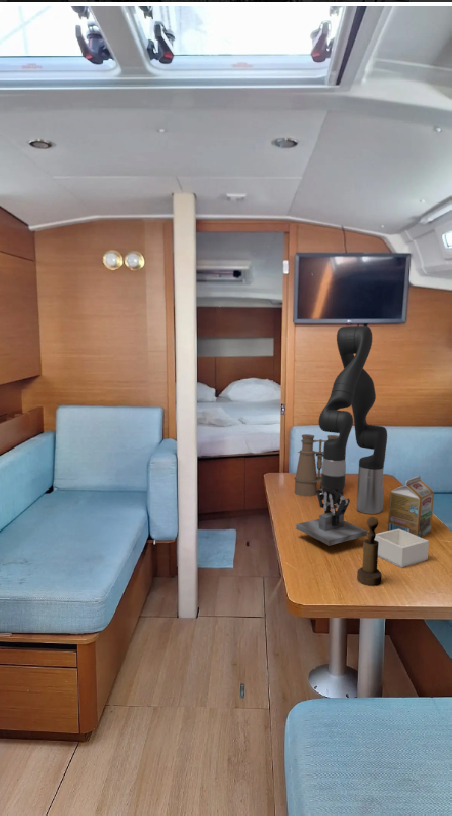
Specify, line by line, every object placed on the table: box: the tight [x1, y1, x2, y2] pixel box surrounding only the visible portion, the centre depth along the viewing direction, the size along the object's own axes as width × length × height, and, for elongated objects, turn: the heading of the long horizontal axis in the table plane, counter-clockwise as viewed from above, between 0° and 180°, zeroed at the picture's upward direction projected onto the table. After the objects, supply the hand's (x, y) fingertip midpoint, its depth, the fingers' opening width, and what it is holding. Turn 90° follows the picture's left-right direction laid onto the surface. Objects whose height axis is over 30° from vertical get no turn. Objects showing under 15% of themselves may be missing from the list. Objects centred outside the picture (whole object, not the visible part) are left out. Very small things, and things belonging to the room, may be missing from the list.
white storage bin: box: [374, 529, 430, 569], centre depth 162 cm, size 12×12×6 cm
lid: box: [295, 511, 368, 547], centre depth 172 cm, size 16×16×6 cm
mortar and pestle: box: [356, 516, 383, 587], centre depth 145 cm, size 7×6×18 cm
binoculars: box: [293, 433, 339, 497], centre depth 224 cm, size 21×10×25 cm, turn 88°
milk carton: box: [387, 475, 435, 538], centre depth 182 cm, size 11×11×19 cm
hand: (331, 523), depth 172 cm, fingers closed on lid, 3 cm apart
